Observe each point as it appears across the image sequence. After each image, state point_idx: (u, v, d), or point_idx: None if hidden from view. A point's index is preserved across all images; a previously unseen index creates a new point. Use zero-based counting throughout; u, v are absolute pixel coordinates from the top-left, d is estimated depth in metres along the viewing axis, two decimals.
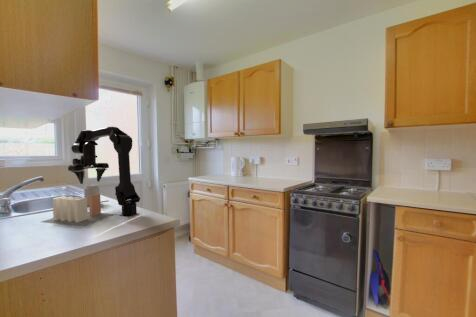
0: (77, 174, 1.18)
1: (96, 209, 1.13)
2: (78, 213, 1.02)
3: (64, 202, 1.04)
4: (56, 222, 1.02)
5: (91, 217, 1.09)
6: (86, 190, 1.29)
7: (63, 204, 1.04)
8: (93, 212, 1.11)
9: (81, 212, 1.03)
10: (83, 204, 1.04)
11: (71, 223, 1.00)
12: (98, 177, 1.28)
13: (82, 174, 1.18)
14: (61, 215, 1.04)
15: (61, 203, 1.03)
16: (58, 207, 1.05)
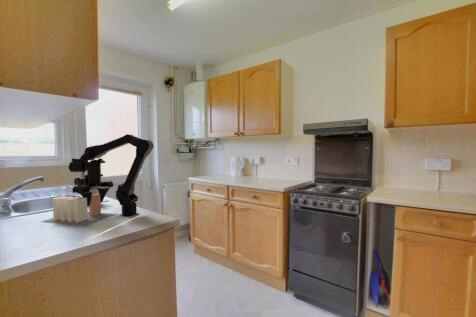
0: (83, 195, 1.08)
1: (96, 209, 1.13)
2: (78, 213, 1.02)
3: (64, 202, 1.04)
4: (56, 222, 1.02)
5: (91, 217, 1.09)
6: None
7: (63, 204, 1.04)
8: (93, 212, 1.11)
9: (81, 212, 1.03)
10: (83, 204, 1.04)
11: (71, 223, 1.00)
12: (101, 197, 1.16)
13: (90, 195, 1.07)
14: (61, 215, 1.04)
15: (61, 203, 1.03)
16: (58, 207, 1.05)
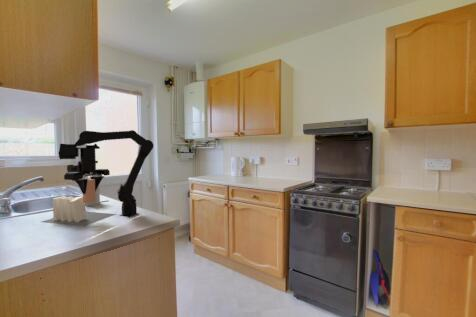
0: (79, 183, 1.01)
1: (90, 195, 1.05)
2: (76, 213, 1.01)
3: (64, 202, 1.04)
4: (56, 222, 1.02)
5: (91, 217, 1.09)
6: None
7: (63, 204, 1.04)
8: (87, 198, 1.03)
9: (79, 212, 1.03)
10: (80, 204, 1.03)
11: (71, 223, 1.00)
12: None
13: (86, 183, 1.01)
14: (61, 215, 1.04)
15: (61, 203, 1.03)
16: (58, 207, 1.05)
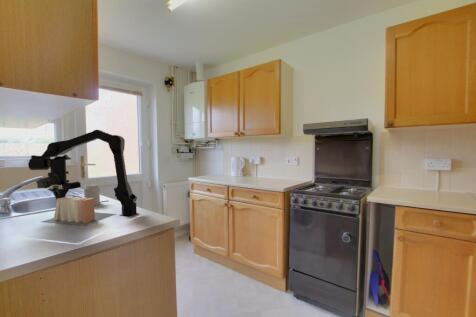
0: (60, 192, 1.05)
1: (89, 215, 1.03)
2: (78, 213, 1.02)
3: (64, 202, 1.04)
4: (56, 222, 1.02)
5: None
6: (86, 190, 1.29)
7: (63, 204, 1.04)
8: (86, 218, 1.02)
9: (81, 212, 1.04)
10: None
11: (71, 223, 1.00)
12: None
13: None
14: (61, 215, 1.04)
15: (61, 203, 1.03)
16: None
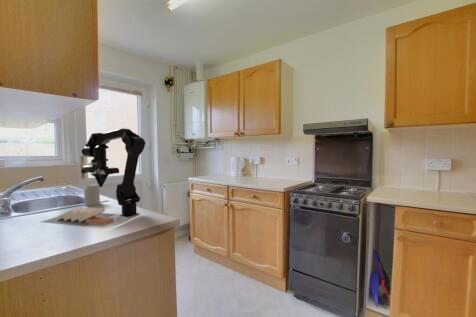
0: (102, 177, 1.19)
1: None
2: None
3: None
4: (56, 222, 1.02)
5: None
6: (86, 190, 1.29)
7: None
8: None
9: None
10: (97, 214, 1.03)
11: (71, 223, 1.00)
12: None
13: None
14: (67, 217, 1.03)
15: (76, 213, 1.02)
16: None
